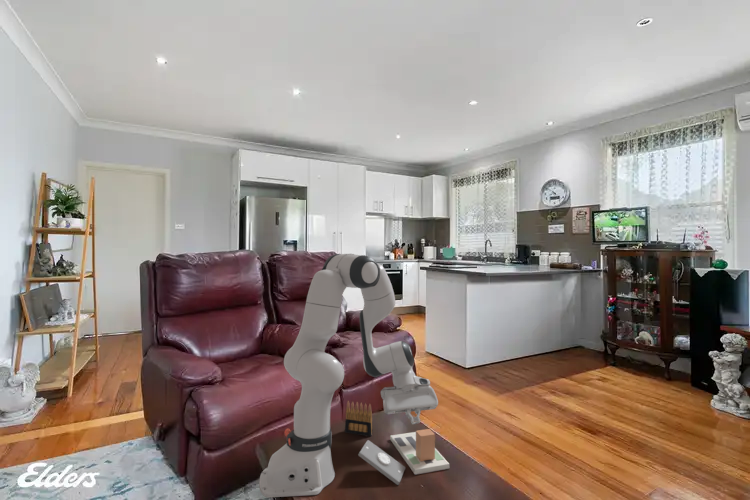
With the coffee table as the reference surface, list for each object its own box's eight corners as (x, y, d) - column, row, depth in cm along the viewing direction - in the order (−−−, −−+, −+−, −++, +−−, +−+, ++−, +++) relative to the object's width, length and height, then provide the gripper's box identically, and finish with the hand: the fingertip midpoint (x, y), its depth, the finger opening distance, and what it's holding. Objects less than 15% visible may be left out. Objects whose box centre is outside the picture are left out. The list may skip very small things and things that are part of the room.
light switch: (401, 480, 112) (360, 449, 116) (391, 496, 113) (351, 465, 117) (407, 464, 120) (369, 437, 124) (398, 479, 121) (360, 451, 125)
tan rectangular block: (420, 461, 122) (420, 436, 122) (415, 454, 126) (415, 430, 126) (434, 458, 124) (434, 434, 124) (429, 452, 128) (429, 428, 128)
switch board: (414, 474, 118) (414, 469, 118) (390, 439, 140) (390, 435, 140) (449, 468, 121) (449, 463, 121) (420, 435, 143) (420, 430, 143)
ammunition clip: (372, 434, 144) (373, 402, 144) (371, 436, 142) (371, 404, 142) (346, 430, 147) (346, 399, 147) (344, 432, 145) (345, 401, 145)
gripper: (381, 383, 136) (389, 422, 127) (433, 379, 142) (445, 416, 133) (377, 391, 141) (385, 430, 131) (428, 387, 147) (439, 423, 137)
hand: (415, 423), depth 132 cm, fingers closed
